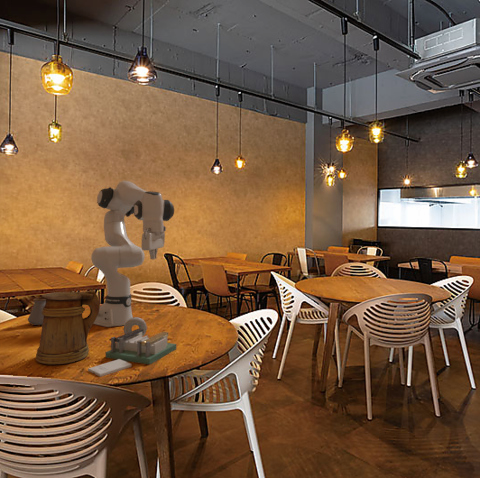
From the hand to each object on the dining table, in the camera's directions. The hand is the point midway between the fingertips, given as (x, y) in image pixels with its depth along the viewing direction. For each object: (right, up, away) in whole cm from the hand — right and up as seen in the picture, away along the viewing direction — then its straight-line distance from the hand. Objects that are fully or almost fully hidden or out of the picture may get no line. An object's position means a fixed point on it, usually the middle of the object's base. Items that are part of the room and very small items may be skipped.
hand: (153, 259), depth 182 cm
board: (0, -36, -20) cm, 41 cm away
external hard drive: (-8, -38, -37) cm, 53 cm away
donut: (-7, -36, -3) cm, 36 cm away
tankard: (-27, -37, -24) cm, 52 cm away
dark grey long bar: (-6, -31, -18) cm, 36 cm away
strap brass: (+5, -31, -23) cm, 39 cm away
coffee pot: (-57, -34, +26) cm, 71 cm away
